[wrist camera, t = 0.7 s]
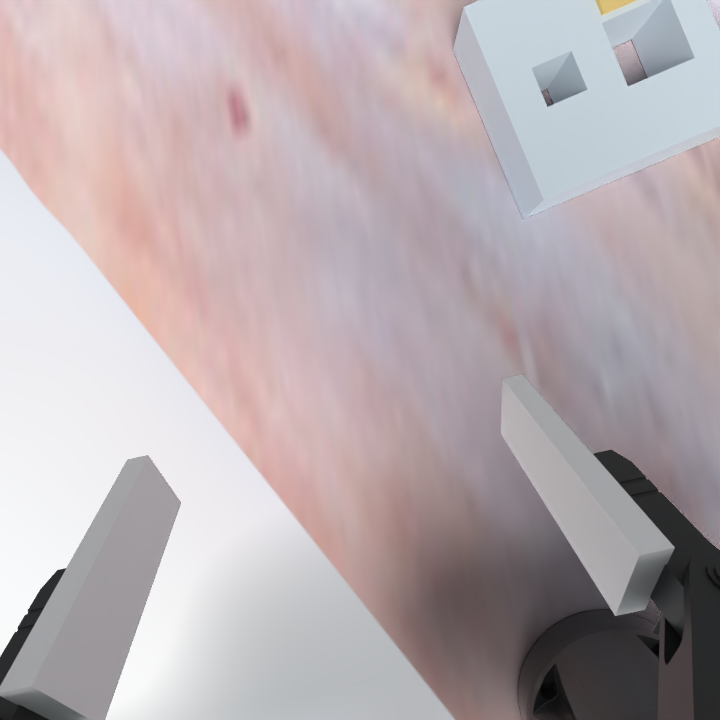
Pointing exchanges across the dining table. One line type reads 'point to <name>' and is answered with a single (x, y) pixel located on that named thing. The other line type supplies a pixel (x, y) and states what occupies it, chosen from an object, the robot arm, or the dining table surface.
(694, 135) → the block
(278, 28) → the dining table surface
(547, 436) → the robot arm
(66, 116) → the dining table surface
